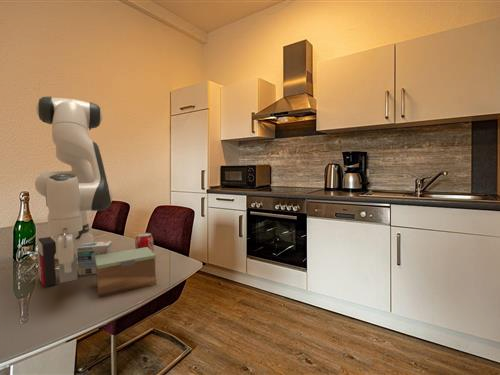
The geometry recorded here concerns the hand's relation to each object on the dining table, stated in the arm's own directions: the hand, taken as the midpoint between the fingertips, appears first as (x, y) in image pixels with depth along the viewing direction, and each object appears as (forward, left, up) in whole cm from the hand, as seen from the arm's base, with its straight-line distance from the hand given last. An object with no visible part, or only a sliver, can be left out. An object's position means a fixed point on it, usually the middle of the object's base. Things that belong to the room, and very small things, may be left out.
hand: (68, 268), depth 86 cm
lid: (+3, +16, 0) cm, 16 cm away
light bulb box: (-18, +8, -8) cm, 21 cm away
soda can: (-17, +26, -8) cm, 32 cm away
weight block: (0, 0, -3) cm, 3 cm away
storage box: (+2, +16, -8) cm, 18 cm away
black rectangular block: (-16, -7, -8) cm, 19 cm away
